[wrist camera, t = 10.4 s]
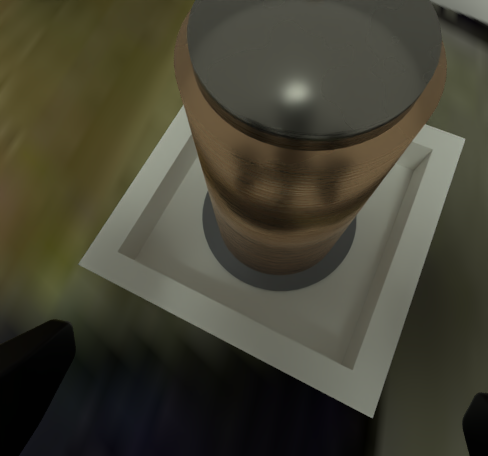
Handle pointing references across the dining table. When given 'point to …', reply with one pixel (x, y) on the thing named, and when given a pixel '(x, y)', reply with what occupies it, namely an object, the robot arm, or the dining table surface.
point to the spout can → (303, 113)
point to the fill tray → (283, 286)
